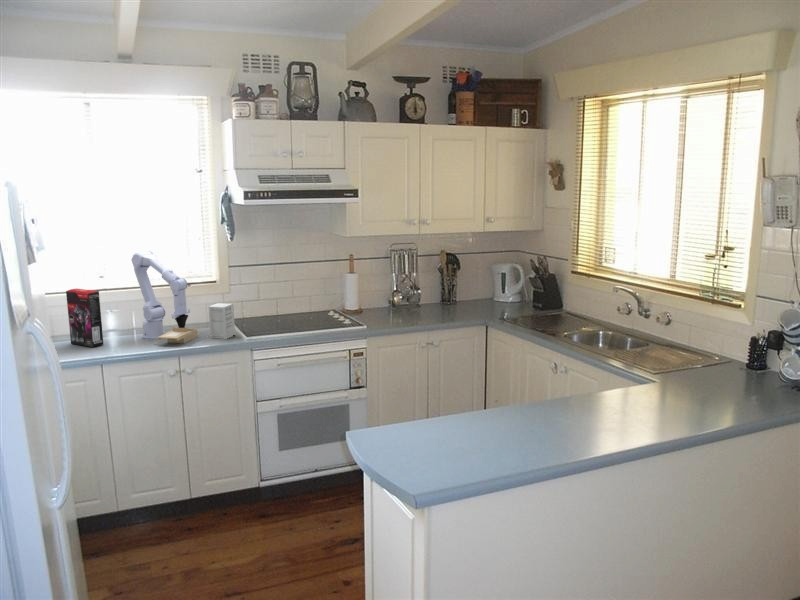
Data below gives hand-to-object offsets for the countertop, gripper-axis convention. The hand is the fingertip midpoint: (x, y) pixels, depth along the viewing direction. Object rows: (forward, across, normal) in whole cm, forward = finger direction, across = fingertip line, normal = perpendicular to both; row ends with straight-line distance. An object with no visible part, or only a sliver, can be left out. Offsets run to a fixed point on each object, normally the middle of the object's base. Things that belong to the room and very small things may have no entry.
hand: (182, 329), depth 335 cm
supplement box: (+6, +10, -17) cm, 21 cm away
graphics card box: (+6, -16, +43) cm, 46 cm away
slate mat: (+6, -1, 0) cm, 6 cm away
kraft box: (+5, 0, 0) cm, 5 cm away
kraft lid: (+2, -7, 0) cm, 7 cm away
